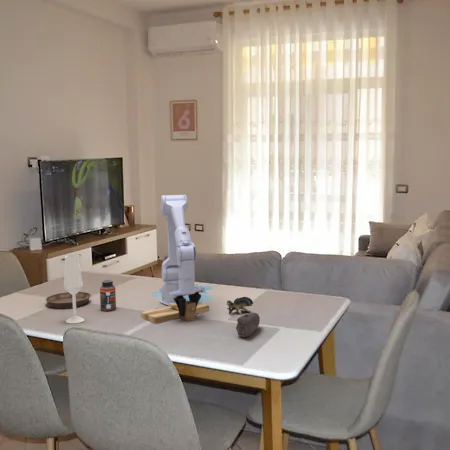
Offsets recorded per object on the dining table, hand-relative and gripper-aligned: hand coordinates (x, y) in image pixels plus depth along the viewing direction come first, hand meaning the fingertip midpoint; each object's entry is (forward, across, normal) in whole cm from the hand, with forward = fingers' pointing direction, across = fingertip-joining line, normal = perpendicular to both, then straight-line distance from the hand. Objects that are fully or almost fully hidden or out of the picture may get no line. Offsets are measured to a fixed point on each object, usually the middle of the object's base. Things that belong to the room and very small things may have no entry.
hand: (187, 314), depth 205 cm
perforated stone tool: (+2, +6, -27) cm, 28 cm away
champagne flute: (+2, -32, +26) cm, 41 cm away
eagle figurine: (+2, +18, -7) cm, 20 cm away
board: (+2, 0, +8) cm, 8 cm away
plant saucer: (+2, -24, +50) cm, 55 cm away
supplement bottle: (+2, -16, +31) cm, 35 cm away
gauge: (+2, 0, +4) cm, 4 cm away
